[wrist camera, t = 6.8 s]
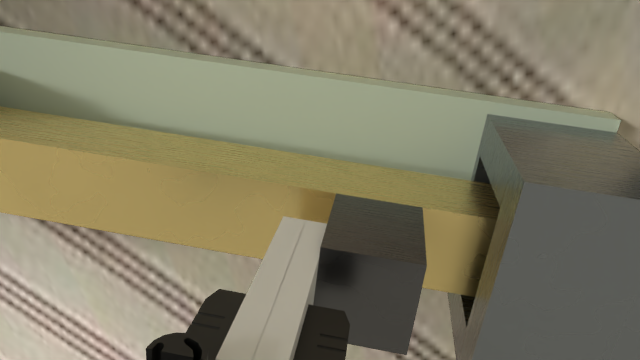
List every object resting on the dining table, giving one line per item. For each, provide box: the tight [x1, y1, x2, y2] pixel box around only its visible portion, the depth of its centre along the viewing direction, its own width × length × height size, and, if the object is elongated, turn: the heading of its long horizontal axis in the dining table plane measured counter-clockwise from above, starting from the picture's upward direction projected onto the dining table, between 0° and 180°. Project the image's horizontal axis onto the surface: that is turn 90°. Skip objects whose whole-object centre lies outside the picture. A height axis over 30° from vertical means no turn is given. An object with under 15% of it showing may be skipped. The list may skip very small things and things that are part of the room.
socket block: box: [448, 114, 640, 360], centre depth 19 cm, size 5×8×7 cm, turn 174°
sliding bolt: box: [0, 106, 500, 355], centre depth 19 cm, size 28×3×7 cm, turn 83°
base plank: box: [0, 26, 621, 181], centre depth 24 cm, size 33×9×1 cm, turn 83°
